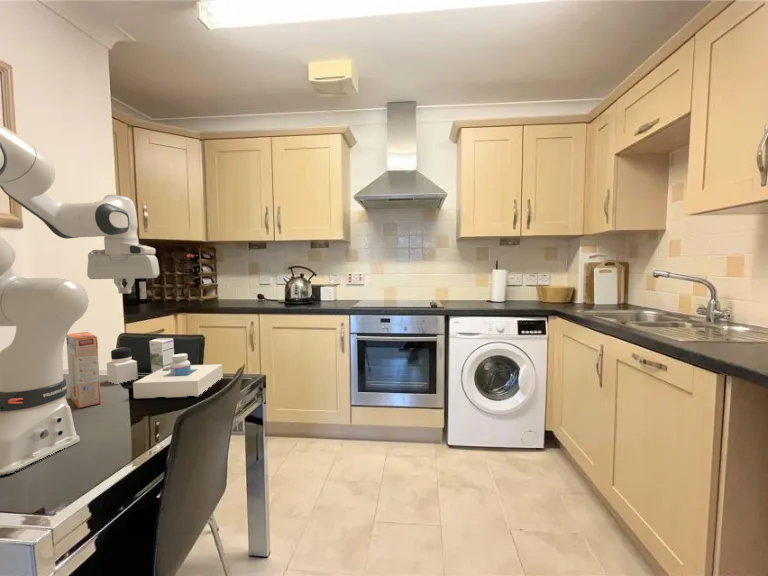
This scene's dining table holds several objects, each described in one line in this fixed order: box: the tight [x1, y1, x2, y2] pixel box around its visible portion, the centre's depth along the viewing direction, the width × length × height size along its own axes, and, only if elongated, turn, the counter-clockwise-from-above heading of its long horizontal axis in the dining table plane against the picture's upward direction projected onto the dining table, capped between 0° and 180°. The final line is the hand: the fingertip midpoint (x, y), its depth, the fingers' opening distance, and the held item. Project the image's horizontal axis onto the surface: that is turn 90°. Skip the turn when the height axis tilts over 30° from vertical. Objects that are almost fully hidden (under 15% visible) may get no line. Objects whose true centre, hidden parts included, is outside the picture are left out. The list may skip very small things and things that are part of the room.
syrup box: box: [148, 337, 175, 374], centre depth 141 cm, size 6×6×14 cm
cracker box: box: [65, 331, 101, 409], centre depth 117 cm, size 14×6×21 cm, turn 47°
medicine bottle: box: [106, 347, 139, 385], centre depth 138 cm, size 7×7×12 cm
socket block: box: [132, 363, 224, 399], centre depth 129 cm, size 20×20×6 cm
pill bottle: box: [170, 352, 191, 376], centre depth 129 cm, size 6×6×11 cm
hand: (125, 293), depth 119 cm, fingers closed
